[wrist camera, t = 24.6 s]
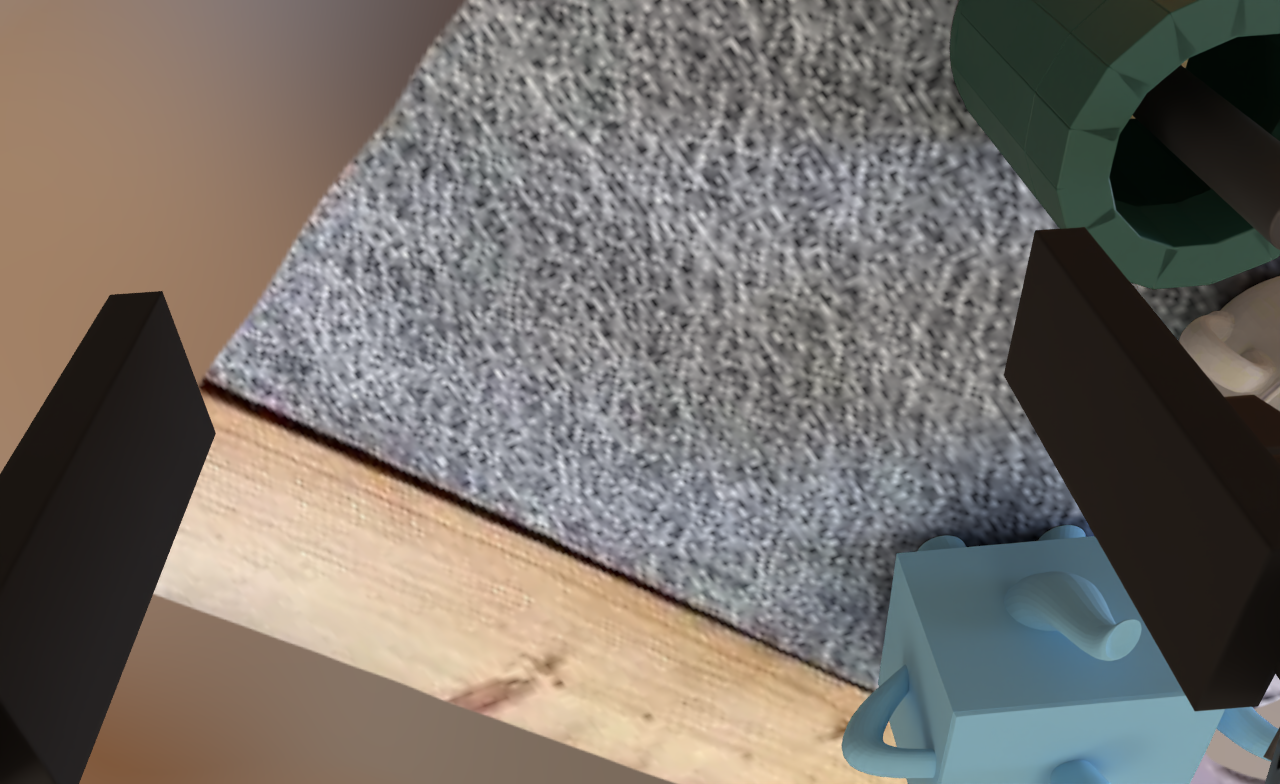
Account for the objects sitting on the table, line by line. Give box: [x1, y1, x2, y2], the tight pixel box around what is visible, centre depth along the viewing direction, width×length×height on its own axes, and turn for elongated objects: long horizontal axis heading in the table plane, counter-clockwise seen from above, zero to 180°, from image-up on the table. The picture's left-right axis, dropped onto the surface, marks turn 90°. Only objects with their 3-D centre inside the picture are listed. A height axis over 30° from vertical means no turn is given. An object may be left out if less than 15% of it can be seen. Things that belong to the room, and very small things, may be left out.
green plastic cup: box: [950, 0, 1280, 289], centre depth 39 cm, size 11×11×12 cm
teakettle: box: [842, 525, 1278, 784], centre depth 59 cm, size 19×19×15 cm
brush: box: [1130, 58, 1280, 250], centre depth 36 cm, size 3×3×16 cm
